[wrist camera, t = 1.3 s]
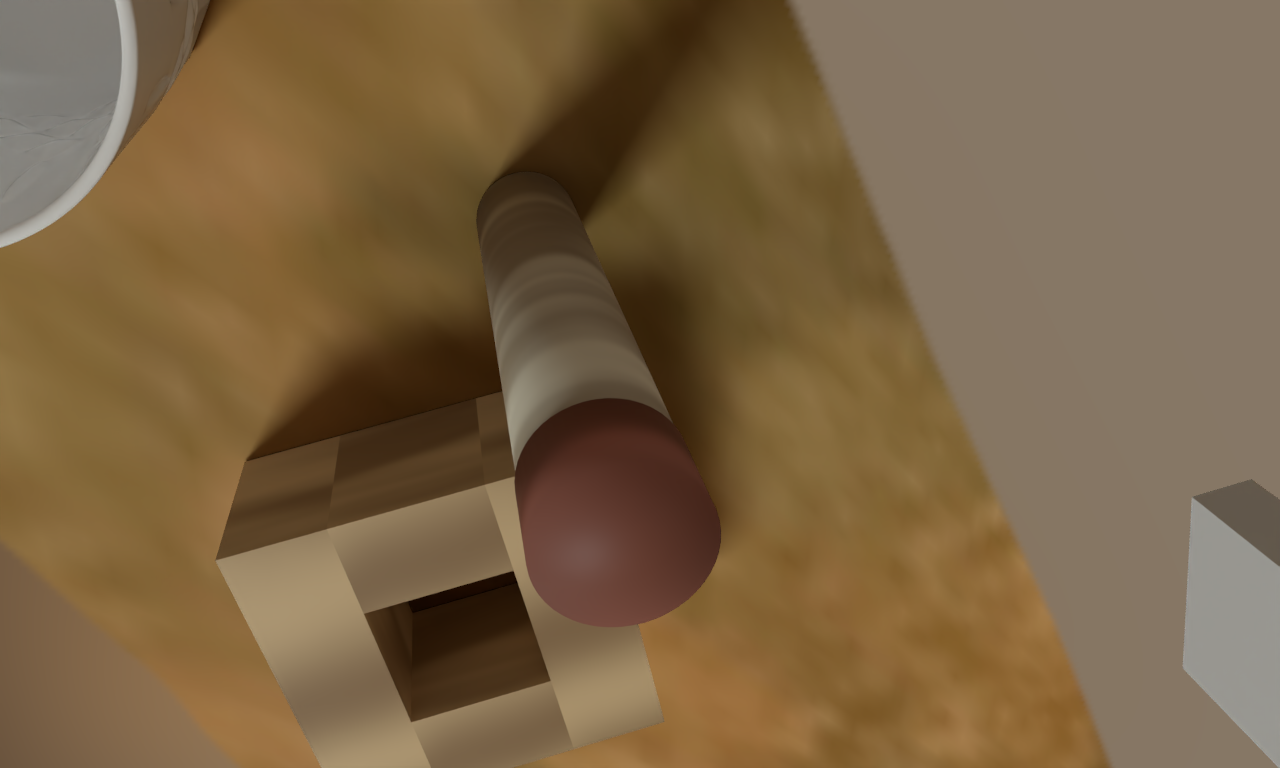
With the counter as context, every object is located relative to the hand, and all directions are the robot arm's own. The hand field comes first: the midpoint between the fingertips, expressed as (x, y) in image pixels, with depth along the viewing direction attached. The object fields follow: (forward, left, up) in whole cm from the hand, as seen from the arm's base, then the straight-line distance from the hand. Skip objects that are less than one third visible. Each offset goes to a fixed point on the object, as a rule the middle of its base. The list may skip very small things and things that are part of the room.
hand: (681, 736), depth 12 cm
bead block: (+10, -5, -19) cm, 22 cm away
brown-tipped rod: (0, 0, -20) cm, 20 cm away
